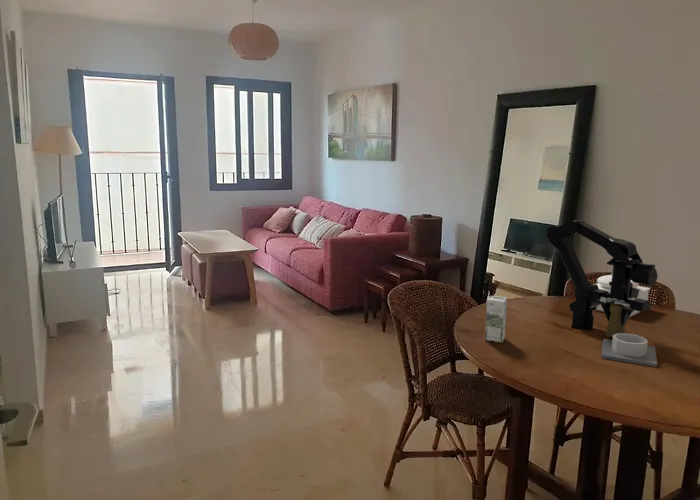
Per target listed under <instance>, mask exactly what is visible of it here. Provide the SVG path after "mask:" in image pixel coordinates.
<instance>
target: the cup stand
mask: <svg viewBox="0 0 700 500" xmlns="http://www.w3.org/2000/svg"><path fill="white" fill-rule="evenodd" d="M648 341H649V340H648V339H647V338H645V337H644V336H641V335H637V334H633V333H628V332H627V333H626V332H625V333H617V334H614V335H613V338H612V339H607V338H603V339H602V347H601V355H600V359H604V360H605V359H606V360H612V361H615V362H616V361H617V362H623V363H630V364H636V365H641V366H647V367H653V368H657V367H658V359H657V353H656V346H653V345H648Z"/></svg>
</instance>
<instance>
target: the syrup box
mask: <svg viewBox="0 0 700 500" xmlns="http://www.w3.org/2000/svg"><path fill="white" fill-rule="evenodd" d="M507 306H508V297H505V296H498V295H495V296H494V295H489V296H488V298H487V300H486V316H485V318H486V319H485V333H484V335H485V336H484V341H485V340H487V342H491V341H494V342H493V343H498V342H499V344H502V343H503V342H504V340H505V337H506V320H507V310H508V309H507V308H508V307H507Z"/></svg>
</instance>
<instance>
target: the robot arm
mask: <svg viewBox="0 0 700 500" xmlns="http://www.w3.org/2000/svg"><path fill="white" fill-rule="evenodd" d="M575 234H578V235H581V236H582V237H583V238H586V239H587V240H589V241H591V242H592V243H594V244H596V245H597V246H600V247H602V248H603V249H604V250H605V252H606V254H608V255H609V256H610V257H612V258H611V259H610V260H608V261H607V262H606V265H608V266H612V273H611V275H612V281H611V282H609V285H611V290H610V293H609V292H608V291H606V290H602V289H599V288H598V286H597V283H595V285H594V284H592V283H591V282H590V281H589V280H588V277H587V275H586V274H585V271H584V269H583V267H582V264H581V262H580V260H579V257H578V255H577V254H576V251H575V249H574V247H573V237H572V235H575ZM545 236H546V238H547V240H548V241H549V243H550V244H551V246H552V247H554V248H555V249H556V250H557V251H558V253H559V255H560V257H561V258H562V261H563V264H564V265H565V268H566V270H567V272H568V274H569V276H570V278H571V281H572V283H573V285H574V297H575V301H573V302H571V303H570V304H568V305H569V310H570V312H572V321H571V328H572V329H578V330H585V331H591V330H592V328H593V327H594V321H595V320H594V319H595V315H594V314H593V313H594V311H597V310H596V308H597V306H599V305H600V304H601V306H602V308H603V310H604V312H603V313H604V314H605V317H606V319H607V322H609V318H610V314H611V312H610V310H609V308H610V306H611V304H614V303H615V302H619V303H623V304H626V307H623V308H622V312H621V324H622V326H624V325H626V323H627V322H628V320H629V318H630V317H629V316H630V315H631V313H632V312H633V311H634V310H636V311H641V312H644V311H648V310H651V307H652V304H651V301H650V300H648V299H647V300H644V299H637V297H638V294H639V290H638V289H636V288H633V284H632V283H631V280H632V281H633V282H635V283H638V284H641V285H645V286H649V287H653V286H654V285H655V284H656V282H657V280H658V275H659V274H658V272H657V269H656V264H654V263H653V264H651V263H650V264H649V263H644V261H643V259H642V258H641V256H640V254H639V252H638V251H637V250H638V249H637V245H635V243H633V242H631V241H629V240H626V239H622V238H617V237H613V236H611V235H610V234H608V233H606V232H604V231H602V230H600V229H598V228H596V227H595V226H592V225H590V224H589V223H588V222H586V221H585V220H582V219H578V220H577V219H576V220H573V221H570V222H567V223H565V224H558V225H556V224H555V225H551V226H550V227H548V228H547V230H546V233H545ZM614 298H615V299H614ZM629 298H635V300H631V299H629ZM622 300H623V301H622ZM641 312H640V313H641Z"/></svg>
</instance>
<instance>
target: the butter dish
mask: <svg viewBox="0 0 700 500" xmlns="http://www.w3.org/2000/svg"><path fill="white" fill-rule="evenodd" d="M596 281H597V283H595V284H597V286H598V288H599V289H602V290H606V291H608V292H609V293H610V290H611V285H609V282H611V281H612V274H607V275H606V274H605V275H602V276H600V277H598V278H597V279H596ZM631 283H632V284H633V288H636V289H638V290H639V294H638V297H637V299H644V300H648V298H649V291H651V288H650V287H645V286H641V285H640V286H639V283H635V282H633V281H632V280H631ZM595 284H593V285H595ZM614 299H615V298H614ZM629 299H631V300H635V298H629ZM622 301H623V300H622ZM614 304H622V305H624V306H626V304H623V303H619V302H615V303H614ZM595 311H599V312H603V313H605V312H604V310H603V308H602V306H601V304H600V305H599V306H597V308H596V310H595ZM639 313H641V311H636V310H634V311H633V312H632V313H631V315H630V316H629V318H631V317H633V316H634V315H637V314H639Z"/></svg>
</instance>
